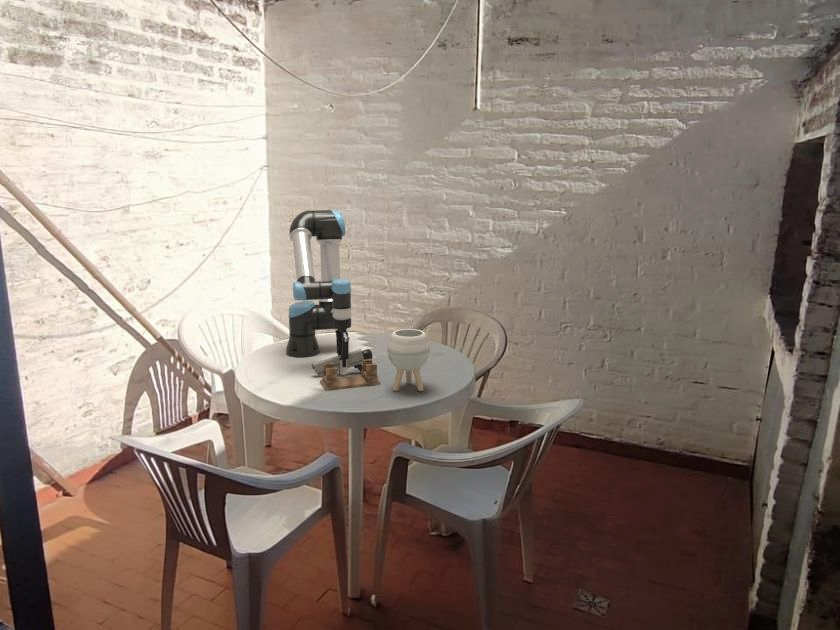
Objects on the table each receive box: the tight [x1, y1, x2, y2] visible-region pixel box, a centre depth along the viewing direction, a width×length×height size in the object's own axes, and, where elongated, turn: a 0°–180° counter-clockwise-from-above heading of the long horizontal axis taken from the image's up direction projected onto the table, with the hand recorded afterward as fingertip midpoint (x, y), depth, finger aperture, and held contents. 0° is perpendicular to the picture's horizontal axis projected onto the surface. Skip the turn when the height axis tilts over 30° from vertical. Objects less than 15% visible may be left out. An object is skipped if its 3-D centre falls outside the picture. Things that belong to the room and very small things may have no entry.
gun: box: [311, 348, 374, 378], centre depth 263 cm, size 2×25×10 cm, turn 107°
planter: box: [387, 328, 431, 392], centre depth 245 cm, size 16×16×22 cm
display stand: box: [319, 358, 381, 391], centre depth 252 cm, size 22×10×8 cm, turn 110°
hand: (342, 372), depth 264 cm, fingers closed on gun, 3 cm apart
